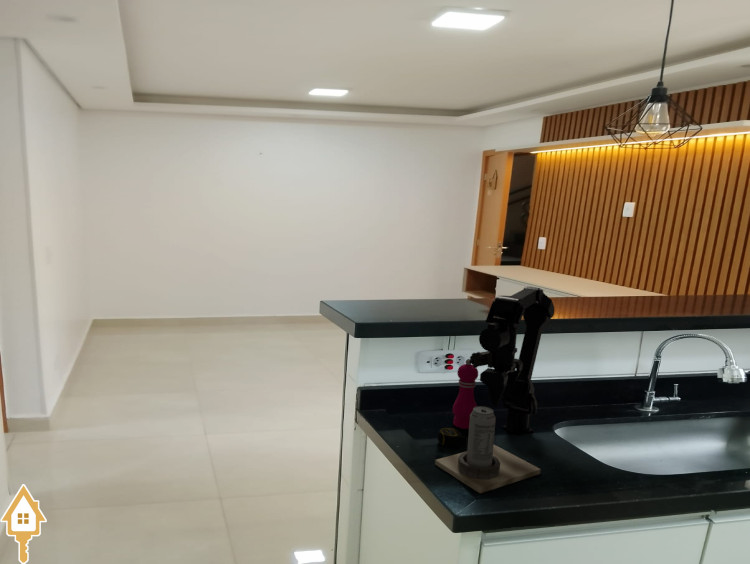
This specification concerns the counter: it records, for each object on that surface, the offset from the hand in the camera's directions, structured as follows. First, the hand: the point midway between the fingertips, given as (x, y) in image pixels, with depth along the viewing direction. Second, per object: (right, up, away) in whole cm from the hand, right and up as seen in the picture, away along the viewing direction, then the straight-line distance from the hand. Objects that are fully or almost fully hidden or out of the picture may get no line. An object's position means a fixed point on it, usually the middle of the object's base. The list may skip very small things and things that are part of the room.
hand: (499, 401), depth 150 cm
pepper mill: (-7, -11, +17) cm, 21 cm away
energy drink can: (-8, -14, -14) cm, 21 cm away
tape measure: (-12, -12, +3) cm, 18 cm away
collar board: (-5, -14, -11) cm, 19 cm away
